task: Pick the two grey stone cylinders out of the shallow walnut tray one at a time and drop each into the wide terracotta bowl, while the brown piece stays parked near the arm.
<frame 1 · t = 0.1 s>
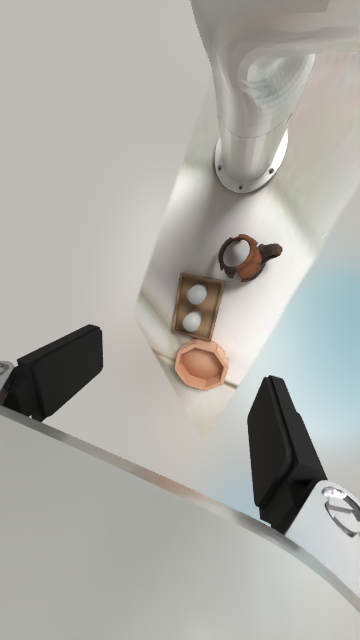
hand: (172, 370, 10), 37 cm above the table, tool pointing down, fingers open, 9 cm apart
brown piece: (247, 258, 40), on the table
stone 2: (200, 291, 44), point 1 cm above the table, touching tray
bowl: (202, 359, 52), on the table
tray: (197, 307, 47), on the table
stone 1: (195, 316, 47), point 1 cm above the table, touching tray
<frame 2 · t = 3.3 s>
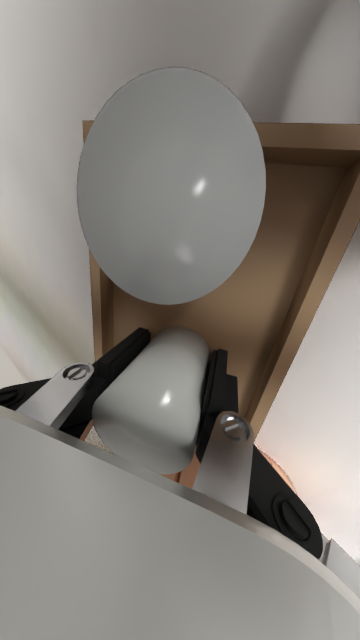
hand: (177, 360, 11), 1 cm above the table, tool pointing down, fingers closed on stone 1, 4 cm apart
stone 2: (201, 235, 9), point 1 cm above the table, touching tray
bowl: (208, 485, 16), on the table
tray: (189, 316, 11), on the table
stone 1: (180, 355, 11), point 1 cm above the table, touching gripper, tray
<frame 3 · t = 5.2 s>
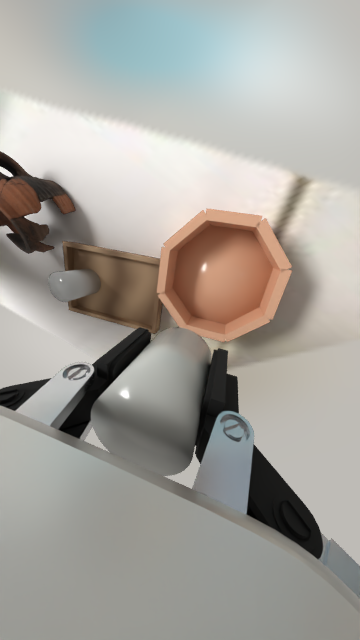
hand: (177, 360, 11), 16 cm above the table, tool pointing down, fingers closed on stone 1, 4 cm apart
brown piece: (49, 210, 27), on the table
stone 2: (90, 281, 29), point 1 cm above the table, touching tray
bowl: (218, 278, 24), on the table
tray: (116, 286, 28), on the table
stone 1: (179, 356, 11), point 15 cm above the table, touching gripper
when the fingers open (4 cm above the table, at t = 7.3 s): stone 1 drops 3 cm, resting on bowl.
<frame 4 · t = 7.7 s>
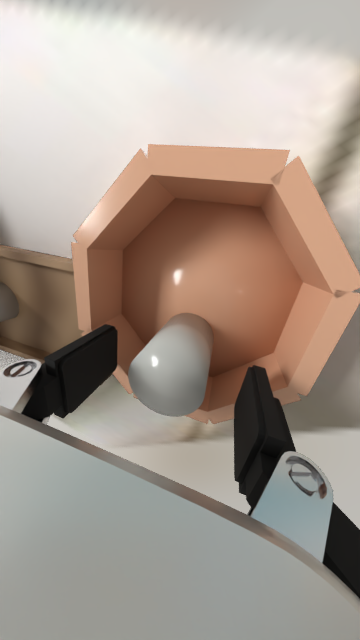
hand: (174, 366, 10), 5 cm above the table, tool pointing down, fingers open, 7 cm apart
stone 2: (3, 300, 18), point 1 cm above the table, touching tray
bowl: (198, 298, 13), on the table
tray: (43, 308, 18), on the table
stone 1: (187, 337, 14), point 1 cm above the table, touching bowl
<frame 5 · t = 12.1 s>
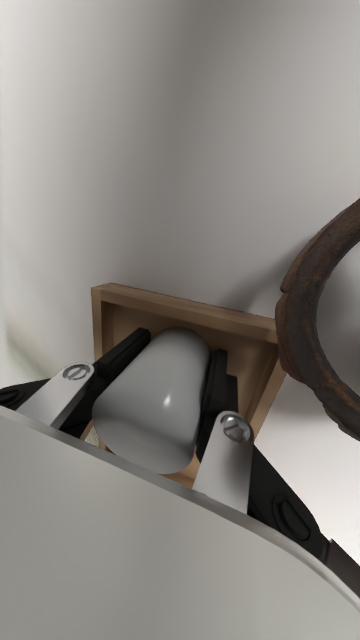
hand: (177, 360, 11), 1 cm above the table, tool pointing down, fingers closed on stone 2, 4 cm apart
stone 2: (180, 355, 11), point 1 cm above the table, touching gripper, tray
tray: (174, 399, 14), on the table
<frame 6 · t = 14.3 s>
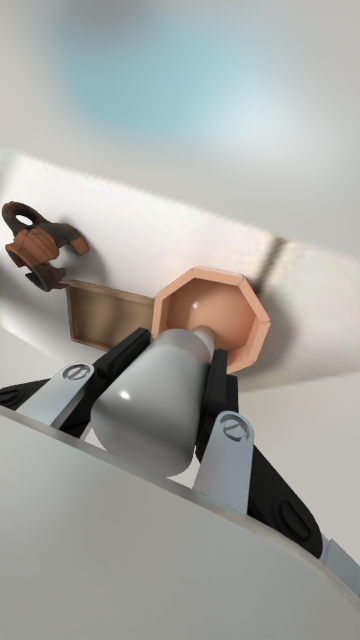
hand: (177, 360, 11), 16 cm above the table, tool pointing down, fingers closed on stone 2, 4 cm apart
brown piece: (64, 249, 29), on the table
stone 2: (179, 357, 11), point 15 cm above the table, touching gripper
bowl: (208, 317, 26), on the table
tray: (115, 320, 31), on the table
stone 1: (202, 337, 26), point 1 cm above the table, touching bowl
when the fingers open (4 cm above the table, at t = 16.5 s): stone 2 drops 3 cm, resting on bowl.
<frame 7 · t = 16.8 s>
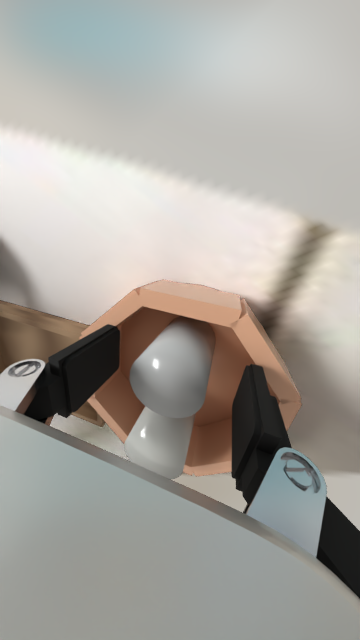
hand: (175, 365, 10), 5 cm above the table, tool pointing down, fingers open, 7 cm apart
stone 2: (189, 339, 14), point 1 cm above the table, touching bowl
bowl: (186, 363, 16), on the table
tray: (51, 356, 20), on the table
stone 1: (177, 394, 16), point 1 cm above the table, touching bowl
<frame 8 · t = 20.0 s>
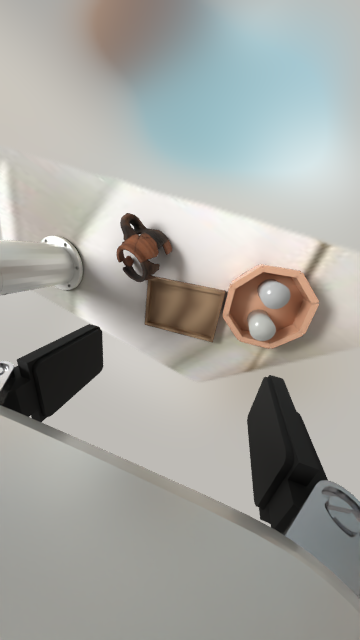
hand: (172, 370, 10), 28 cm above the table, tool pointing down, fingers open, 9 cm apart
brown piece: (149, 249, 37), on the table
stone 2: (269, 290, 32), point 1 cm above the table, touching bowl
bowl: (263, 303, 34), on the table
tray: (183, 307, 39), on the table
stone 1: (257, 319, 34), point 1 cm above the table, touching bowl
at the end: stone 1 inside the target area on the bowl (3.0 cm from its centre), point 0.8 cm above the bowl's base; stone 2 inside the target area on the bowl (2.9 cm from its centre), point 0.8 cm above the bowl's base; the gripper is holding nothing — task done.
